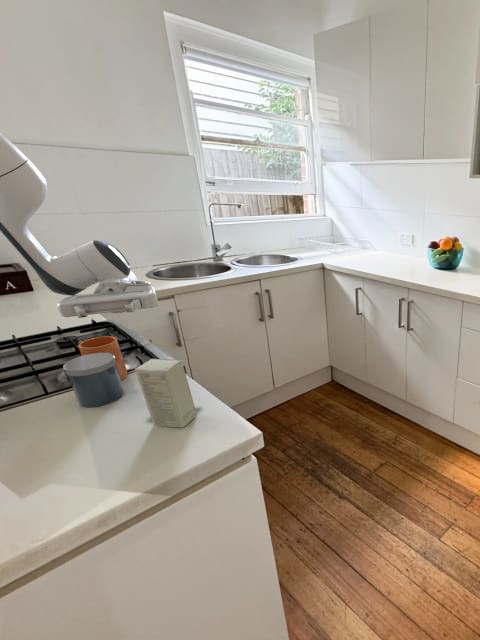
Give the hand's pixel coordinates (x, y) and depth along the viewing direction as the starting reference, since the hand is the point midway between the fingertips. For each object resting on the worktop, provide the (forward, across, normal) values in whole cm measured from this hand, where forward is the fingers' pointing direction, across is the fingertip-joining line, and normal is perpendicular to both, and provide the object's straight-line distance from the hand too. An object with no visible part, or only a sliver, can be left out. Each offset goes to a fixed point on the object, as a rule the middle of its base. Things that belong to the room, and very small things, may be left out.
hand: (105, 311), depth 91 cm
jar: (+21, 0, +12) cm, 24 cm away
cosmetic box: (+37, +14, +12) cm, 41 cm away
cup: (+12, 0, +12) cm, 17 cm away
